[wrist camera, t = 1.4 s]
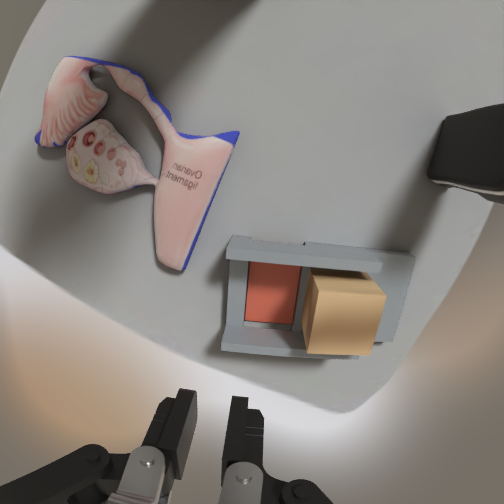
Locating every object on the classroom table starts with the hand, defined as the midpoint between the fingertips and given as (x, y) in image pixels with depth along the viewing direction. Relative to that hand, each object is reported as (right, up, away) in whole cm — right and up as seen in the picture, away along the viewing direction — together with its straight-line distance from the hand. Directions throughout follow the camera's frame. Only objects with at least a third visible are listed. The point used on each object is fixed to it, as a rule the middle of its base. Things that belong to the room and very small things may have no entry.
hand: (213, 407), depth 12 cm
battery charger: (+20, +16, +10) cm, 27 cm away
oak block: (+9, +3, +13) cm, 16 cm away
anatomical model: (-10, +16, +12) cm, 23 cm away
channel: (+8, +3, +14) cm, 17 cm away
